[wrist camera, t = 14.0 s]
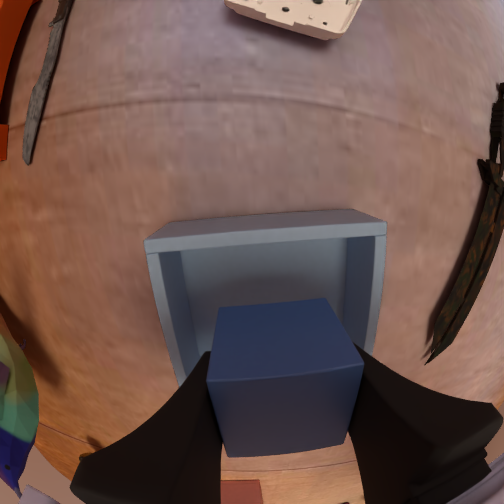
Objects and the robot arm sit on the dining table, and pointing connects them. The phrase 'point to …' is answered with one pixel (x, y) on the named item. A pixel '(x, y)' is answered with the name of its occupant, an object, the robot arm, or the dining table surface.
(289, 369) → the blue block
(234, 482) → the pink bin
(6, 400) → the decorative sculpture
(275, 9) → the white wedge piece
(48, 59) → the knife
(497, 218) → the knife
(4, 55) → the tape dispenser
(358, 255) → the blue bin
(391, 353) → the dining table surface
